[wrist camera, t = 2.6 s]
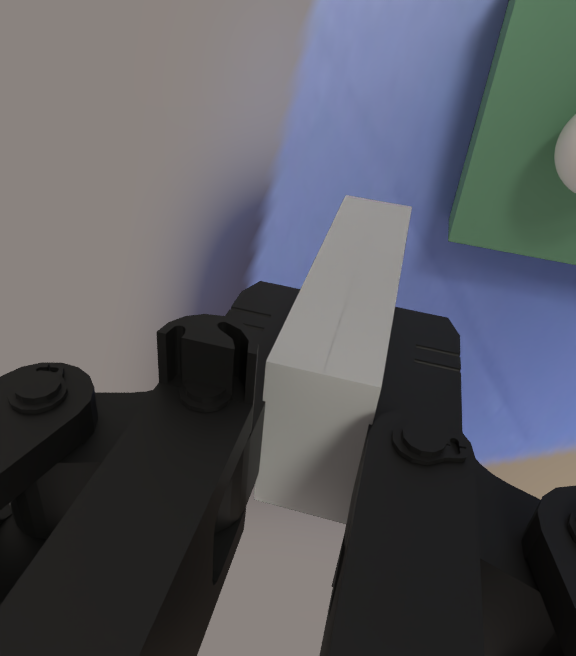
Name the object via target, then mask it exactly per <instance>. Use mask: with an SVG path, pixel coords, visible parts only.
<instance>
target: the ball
mask: <svg viewBox="0 0 576 656" xmlns="http://www.w3.org/2000/svg"><path fill="white" fill-rule="evenodd" d="M554 160H555V166H556V170H557V173H558V175H559V177H560V179H561V180H562V182H563V183H564V184H565V185H566V186H567V188H568V189H570V190H571V191H572V192H574V193H576V114H575V115H574V116H573V117H572V118H571V119H570V120H569V121H568V122H567V124H566V125H565V126H564V128H563V130H562V131H561V133H560V135H559V137H558V140H557V143H556V147H555V153H554Z"/></svg>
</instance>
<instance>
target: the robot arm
mask: <svg viewBox="0 0 576 656" xmlns="http://www.w3.org/2000/svg"><path fill="white" fill-rule="evenodd" d="M411 209H412V207H410V206H405V205H399V204H393V203H388V202H382V201H376V200H371V199H365V198H359V197H354V196H348V195H346V196H345V198H344V200H343V202H342V204H341V206H340V208H339V210H338V212H337V214H336V217H335V219H334V221H333V223H332V225H331V227H330V229H329V231H328V233H327V235H326V237H325V239H324V242H323V244H322V246H321V248H320V250H319V252H318V254H317V256H316V258H315V260H314V262H313V264H312V267H311V269H310V271H309V273H308V275H307V277H306V279H305V281H304V283H303V285H302V287H301V289H296V288H291V287H286V286H282V285H277V284H272V283H267V282H262V281H260V282H258V283H256V284H254V285H252V286H251V287H249V288H247V289H245V290H243V291H242V292H241V293H240V295H239V296H238V298H237V299H236V301H235V302H234V304H233V305H232V307H231V310H229V311H228V313H227V314H226V316H217V315H208V314H201V315H192V316H185V317H182V318H179V319H177V320H174V321H172V322H169V323H167V324H166V325H165V326H163V327H162V328H161V329H160V330H158V331H157V349H158V368H159V383H158V385H157V386H156V387H155V389H154V390H151V391H147V392H135V393H95V391H94V386H93V383H92V381H91V378H90V376H89V375H88V374H86V373H85V372H84V371H82V370H81V369H80V368H78V367H75V366H71V365H68V364H64V363H38V364H33V365H29V366H24V367H21V368H18V369H16V370H14V371H12V372H9V373H7V374H5V375H3V376H1V377H0V656H197V654H198V651H199V648H200V646H201V643H202V641H203V638H204V635H205V632H206V630H207V627H208V624H209V622H210V619H211V616H212V614H213V611H214V608H215V605H216V603H217V600H218V597H219V594H220V592H221V589H222V586H223V584H224V581H225V579H226V575H227V573H228V570H229V568H230V565H231V562H232V560H233V557H234V554H235V552H236V549H237V546H238V543H239V541H240V538H241V535H242V533H243V530H244V522H245V512H246V505H247V502H248V499H249V497H250V494H251V492H252V489H253V487H254V484H255V491H254V500H258V501H262V502H266V503H269V504H273V505H276V506H280V507H284V508H288V509H291V510H295V511H299V512H303V513H306V514H310V515H313V516H317V517H321V518H325V519H329V520H332V521H336V522H339V523H343V524H346V529H345V534H344V538H343V542H342V546H341V550H340V555H339V559H338V563H337V567H336V571H335V575H334V579H333V583H332V587H333V590H332V595H331V600H330V605H329V610H328V615H327V620H326V625H325V631H324V636H323V641H322V646H321V651H320V656H576V486H569V487H559V488H555V489H553V490H552V491H550V492H549V493H547V494H546V495H544V496H543V497H542V499H541V500H540V499H538V498H536V497H534V496H532V495H530V494H528V493H526V492H524V491H522V490H520V489H518V488H516V487H514V486H512V485H510V484H508V483H506V482H505V481H503V480H501V479H500V478H498V477H496V476H495V475H493V474H492V473H490V472H489V471H488V470H487V469H486V468H484V467H483V466H482V465H481V464H480V463H479V462H478V461H477V460H476V458H475V455H474V452H473V449H472V446H471V443H470V442H469V440H468V439H467V438H466V437H465V436H464V434H463V432H462V402H461V373H460V369H461V361H460V335H459V334H458V332H457V331H456V329H455V328H454V326H453V325H452V323H451V322H450V320H449V319H448V318H447V317H442V316H437V315H432V314H427V313H422V312H417V311H413V310H408V309H403V308H398V307H395V304H396V298H397V292H398V286H399V280H400V274H401V269H402V263H403V257H404V251H405V245H406V239H407V233H408V227H409V221H410V215H411Z"/></svg>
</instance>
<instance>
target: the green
mask: <svg viewBox="0 0 576 656" xmlns="http://www.w3.org/2000/svg"><path fill="white" fill-rule="evenodd" d="M575 114H576V0H509V2H508V6H507V9H506V13H505V17H504V20H503V24H502V28H501V31H500V35H499V39H498V42H497V46H496V49H495V53H494V57H493V60H492V64H491V68H490V71H489V75H488V79H487V82H486V86H485V90H484V93H483V97H482V101H481V104H480V108H479V111H478V115H477V119H476V122H475V126H474V130H473V133H472V137H471V141H470V144H469V148H468V152H467V155H466V159H465V163H464V166H463V170H462V173H461V177H460V181H459V184H458V188H457V192H456V195H455V199H454V203H453V206H452V210H451V214H450V217H449V231H448V241H450V242H455V243H461V244H466V245H471V246H477V247H482V248H487V249H493V250H498V251H503V252H509V253H514V254H519V255H525V256H530V257H535V258H541V259H546V260H551V261H557V262H562V263H568V264H573V265H576V193H574V192H572V191H571V190H570V189H568V188H567V186H566V185H565V184H564V183H563V182H562V180H561V179H560V177H559V175H558V173H557V170H556V166H555V160H554V153H555V147H556V143H557V140H558V137H559V135H560V133H561V131H562V130H563V128H564V126H565V125H566V124H567V122H568V121H569V120H570V119H571V118H572V117H573V116H574V115H575Z"/></svg>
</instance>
